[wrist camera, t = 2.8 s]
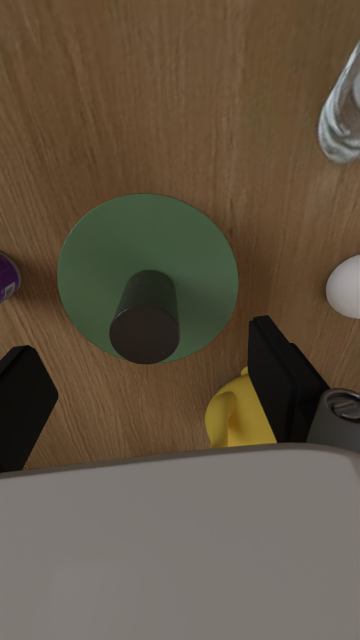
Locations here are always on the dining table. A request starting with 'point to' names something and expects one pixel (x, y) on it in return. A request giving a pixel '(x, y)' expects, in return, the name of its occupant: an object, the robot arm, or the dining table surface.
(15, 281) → the container
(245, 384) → the teapot
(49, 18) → the dining table surface
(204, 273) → the lid
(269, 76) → the dining table surface
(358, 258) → the garlic bulb
